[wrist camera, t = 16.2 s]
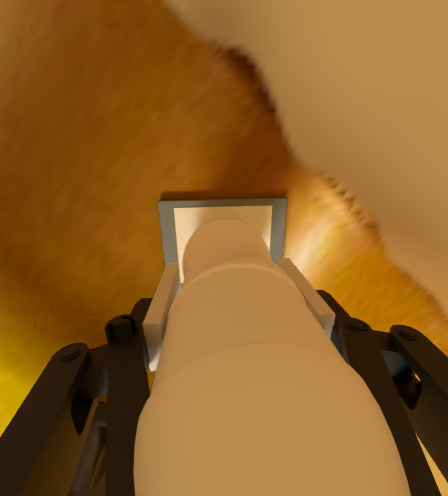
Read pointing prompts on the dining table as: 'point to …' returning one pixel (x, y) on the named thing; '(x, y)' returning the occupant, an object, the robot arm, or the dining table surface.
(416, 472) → the robot arm
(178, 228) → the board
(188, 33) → the dining table surface
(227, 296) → the water bottle
